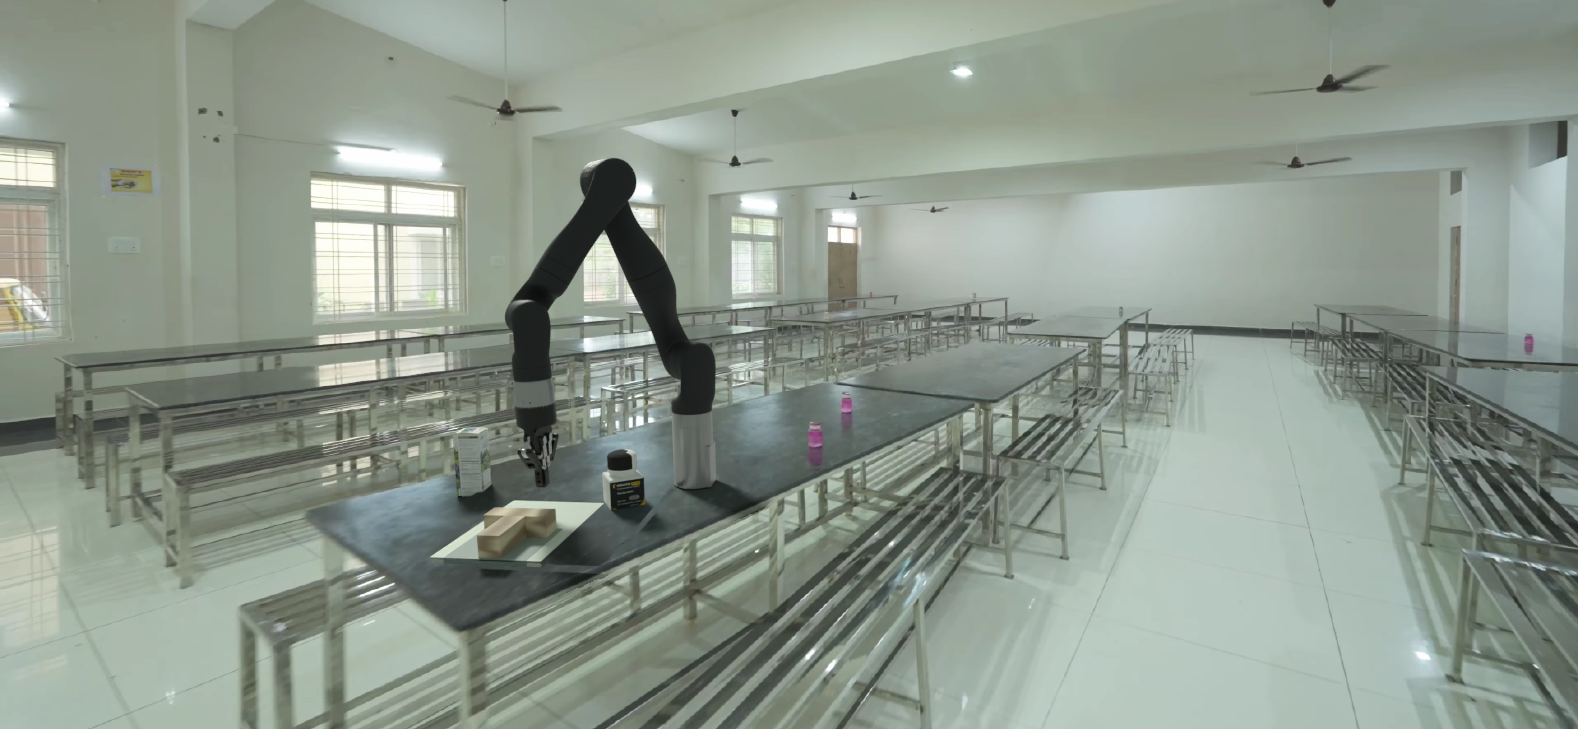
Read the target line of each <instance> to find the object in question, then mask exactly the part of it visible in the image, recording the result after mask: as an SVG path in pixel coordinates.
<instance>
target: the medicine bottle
mask: <svg viewBox="0 0 1578 729" xmlns="http://www.w3.org/2000/svg"><path fill="white" fill-rule="evenodd" d="M606 465H607V471H603V472H601V473H602V474H601V475H602V477H601V478H602V492H603V501H604V504H606V506H607V507H608V508H609V510H610V511H616V510H622V509H629V508H633V507H638V506H639V507H640V506H644V505H646V496H645V494H646V493H645V476H644V475H643V474H642V473H641V472H640V471H639V470H638V453H637V452H636V451H635V450H632V449H630V448H629V449H626V448H621V449H616V450H612V451H611V452H608V453H607V455H606Z"/></svg>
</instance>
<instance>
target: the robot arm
mask: <svg viewBox="0 0 1578 729" xmlns="http://www.w3.org/2000/svg"><path fill="white" fill-rule="evenodd" d="M580 172H581V173H580V174H579V186H580V189H581V192H582V195H583V197H584V199H583V200H582V203H581V205H580V206H579V207H578V209H577V211H576V212H575V213H574V215H573V217H572V218H570V220H569V221H568V223H566V225H564V226H563V228H562V229H561V230H560V231H559V232H558V233H557V235H555V237H554V238H553V239H552V240H551V242H550V243H549V244H548V246H547V247H546V249H545V250H544V252H543V254H542V255H541V257H540V258H539V260H538V262H537V263H536V265H535V266H534V268H533V270H532V272H531V274H530V275H529V278H528V279H527V280H526V281H525V282H524V284H522V286H521V287H520V288H519V289H518V291H517V292H516V293H515V295H514V297H512V299H511V300H510V302H509V304H508V305H507V307H506V310H505V312H504V313H505V314H504V322H505V324H506V326H507V327H508V330H510V331H511V332H512V336H513V337H512V338H513V346H514V347H513V348H514V349H513V350H514V352H513V353H512V355H511V367H512V380H513V402H514V412H515V421H516V422H515V423H516V426H517V427H518V428H519V429H521V430H523V438H522V440H523V443H524V445H523V447H522V448H518V450H517V456H518V457H519V458H520V459H521V462H522V463H523V464H524V466H525V467H526V468H527V470H534V481H535V487H537V488H547V486H549V485H550V482H551V480H550V473H549V472H550V471H549V467H550V466H551V462H553V461H554V459H555V455H556V451H557V445H558V441H559V438H560V434H559V433H558V432H555V433H554V432H553V427H552V426H554V425H555V424H556V423H557V422H558V415H557V405H556V393H555V387H554V386H555V385H554V382H553V377H552V365H551V364H552V363H551V358H550V349H551V337H552V336H551V335H552V334H551V333H552V332H551V331H552V326H551V320H550V319H551V317H550V314H549V310H550V309H551V307H552V305H553V304H554V302H556V300H557V299H558V298H560V297H561V296H563V295H564V293H565V292H566V291H567V289H568V288H569V286H570V284H571V282H572V281H573V279H575V276H576V274H577V273H578V271H579V269H580V267H582V264H583V262H584V261H585V259H586V258H587V256H588V254H589V253H590V252H591V250H592V249H593V246H594V245H595V243H596V242H597V240H598V239H599V238H600V236H601V235H602V233H604V232H605V234H606V237H607V238H608V240H609V243H610V245H611V247H612V250H613V253H614V255H615V258H616V259H617V262H618V264H619V265H620V267H621V270H622V273H623V274H624V278H625V279H626V282H627V283H628V286H629V288H630V290H631V292H632V294H633V297H634V298H635V300H636V302H637V304H638V306H639V308H640V311H641V312H642V313H641V314H642V315H643V317H644V319H645V321H646V323H647V324H648V327H649V329H650V332H651V334H652V336H653V339H654V341H655V345H656V349H657V351H658V353H659V357H660V360H661V362H662V365H663V367H664V369H665V371H666V372H667V374H668V375H669V376H671V378H674V379H675V380H679V381H680V386H679V387H680V390H679V394H678V395H677V396H675V397H674V398H672V399H671V403H670V404H671V409H670V410H671V431H672V432H671V434H672V438H671V439H672V456H673V457H672V459H673V460H672V461H673V482H674V483H673V484H674V486H675V487H677V488H680V489H684V490H697V489H704V488H711V487H712V486H713V484H714V483H715V482H716V480H717V462H716V459H717V458H716V454H717V453H716V440H715V439H714V433H713V432H714V431H713V403H714V399H715V396H716V380H717V379H716V377H717V376H716V372H717V370H716V369H717V368H716V358H715V354H714V351H713V350H712V347H710V346H709V345H708V344H706V343H704V342H699V341H695V340H690V338H688V336H687V334H686V332H685V330H684V328H683V326H682V324H681V322H680V319H679V316H678V311H677V287H676V283H675V280H674V278H673V275H672V272H671V269H670V267H669V265H668V263H667V261H666V258H665V257H664V255H663V254H662V252H661V250H660V249H659V247H658V246H657V245H656V243H655V242H654V241H653V240H652V238H651V237H650V236H649V235H648V234H647V233H646V231H645V230H644V229H643V228H642V226H641V225H640V223H639V222H638V220H637V218H636V216H635V215H634V212H633V210H632V208H631V206H630V203H629V200H630V199H631V198H632V197H633V196H634V194H635V191H636V190H637V176H636V173H635V170H634V169H633V167H632V166H631V164H630V163H628V162H627V161H626V160H624V159H622V158H617V157H606V158H601V159H596V160H593V161H590V162H589V163H587V164H586V165H584V167H583V168H582V170H581V171H580Z"/></svg>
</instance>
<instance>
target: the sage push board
mask: <svg viewBox="0 0 1578 729" xmlns="http://www.w3.org/2000/svg"><path fill="white" fill-rule="evenodd" d="M604 504H605V502H583V501H582V502H581V501H579V502H578V501H577V502H576V501H575V502H574V501H548V500H546V501H545V500H544V501H543V500H538V501H537V500H517V499H516V500H515V499H514V500H513V501H511V502H509V503H508V504H507V505H505V506H503V507H502V508H540V509H556V524H557V529H556V530H555V531H554V532H553V533H552V534H551V535H550V536H549V537H547V538H542V537H526V538H525V539H523V540H522V541H521V542H520V543H519V544H517V545H516V546H515V547H514V548H513V549H511V550H510V551H509V552H508V553H506V554H505V555H504V556H503V557H502V558H478V546H477V535H478V534H479V533H481V532H482V531H483V530H485V529H484V520H482V521H481V522H480V523H478V524H477V525H475V526H473V527H472V528H471V529H469V530H468V531H466V532H464V533H463V534H461V535H460V536H459V537H457V538H456V539H455V540H453V541H451V542H450V543H449V544H447V545H446V546H444V547H443V548H441V549H440V550H438V551H437V552H435V553H434V554H432V555H431V556H430V558H429V563H433V564H453V565H455V564H456V565H475V566H476V565H478V566H481V565H483V566H501V565H502V566H504V567H505V566H506V567H528V568H531V567H533V568H541V567H543V566H544V565H545V564H546V563H544V562H543V563H542V561H543V560H545V558H546V557H547V556H549V555H550V554H551V553H552V552H553V551H554V550H555V549H556V548H557V547H559V545H561V544H562V543H563V542H564V541H565V540H566V539H567V538H568V537H569V536H571V535H572V533H574V532H575V531H576V530H578V528H579V527H581V525H583V523H584V522H586V521H587V520H588V519H589V518H590V517H591V516H592V515H593V514H594V513H595V512H596V511H597V510H599V509H600V508H601V507H602V506H603V505H604ZM502 566H501V567H502Z"/></svg>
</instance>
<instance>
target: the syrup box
mask: <svg viewBox="0 0 1578 729" xmlns="http://www.w3.org/2000/svg"><path fill="white" fill-rule="evenodd" d="M452 443H453V456H454V458H453V459H454V471H455V485H456V496H457V497H458V496H462V497H471V496H474V495H475V494H477V493H483V492H485V491H486V490H487V489H488V488H489V487H490V486H492V484H493V483H492V480H493V479H492V465H491V464H492V463H491V450H490V435H489V427H481V426H479V427H478V426H473V427H470V426H469V427H463V428H461V429H460V430H458V431H456V432H454V433H453V434H452Z"/></svg>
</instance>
